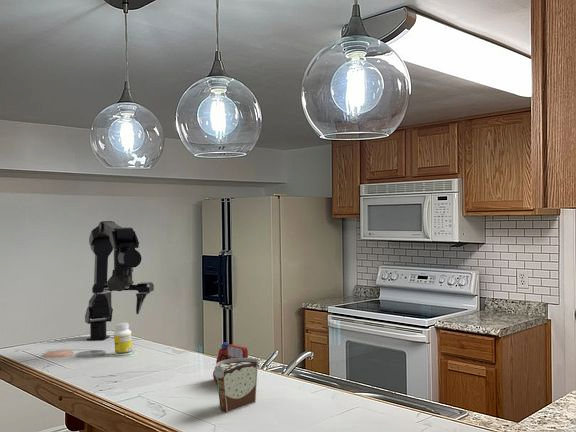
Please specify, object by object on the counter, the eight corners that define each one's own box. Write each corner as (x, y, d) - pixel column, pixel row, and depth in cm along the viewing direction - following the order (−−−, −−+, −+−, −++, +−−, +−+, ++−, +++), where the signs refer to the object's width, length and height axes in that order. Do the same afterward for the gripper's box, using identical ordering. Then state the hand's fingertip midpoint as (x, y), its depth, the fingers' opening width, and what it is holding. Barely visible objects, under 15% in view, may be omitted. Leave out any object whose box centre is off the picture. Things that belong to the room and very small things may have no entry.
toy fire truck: (229, 376, 163) (229, 338, 163) (257, 385, 153) (256, 344, 153) (208, 381, 158) (207, 342, 158) (235, 390, 149) (234, 349, 149)
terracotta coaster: (50, 352, 199) (50, 350, 199) (77, 352, 199) (77, 349, 199) (39, 358, 190) (39, 356, 190) (67, 358, 190) (67, 356, 190)
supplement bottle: (114, 352, 194) (113, 323, 194) (131, 351, 196) (130, 321, 196) (115, 356, 189) (114, 326, 189) (133, 354, 191) (131, 324, 191)
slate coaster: (83, 352, 198) (83, 350, 198) (109, 352, 198) (109, 350, 198) (72, 358, 189) (72, 356, 189) (99, 358, 189) (99, 356, 189)
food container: (240, 396, 143) (240, 355, 143) (259, 401, 139) (259, 358, 140) (202, 409, 134) (202, 365, 134) (222, 414, 130) (221, 369, 130)
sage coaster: (115, 353, 197) (115, 351, 197) (142, 353, 197) (142, 351, 197) (105, 359, 188) (105, 357, 188) (133, 359, 188) (133, 357, 188)
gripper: (84, 268, 186) (85, 318, 186) (143, 267, 184) (144, 318, 184) (98, 265, 197) (99, 313, 197) (154, 265, 196) (154, 312, 195)
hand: (123, 314), depth 193 cm, fingers open, 9 cm apart
